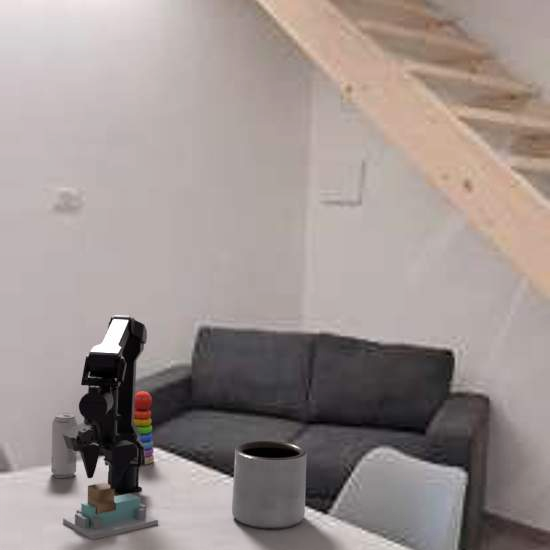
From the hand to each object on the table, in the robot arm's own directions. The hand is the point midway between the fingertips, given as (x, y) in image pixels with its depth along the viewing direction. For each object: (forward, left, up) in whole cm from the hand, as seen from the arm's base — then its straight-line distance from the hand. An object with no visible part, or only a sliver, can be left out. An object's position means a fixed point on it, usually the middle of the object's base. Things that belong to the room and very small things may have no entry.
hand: (101, 483), depth 200 cm
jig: (-3, 0, -9) cm, 10 cm away
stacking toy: (-34, -37, -10) cm, 51 cm away
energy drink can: (-12, -37, -10) cm, 40 cm away
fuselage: (-3, 0, -8) cm, 9 cm away
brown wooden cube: (0, 0, -6) cm, 6 cm away
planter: (-33, +16, -10) cm, 38 cm away
